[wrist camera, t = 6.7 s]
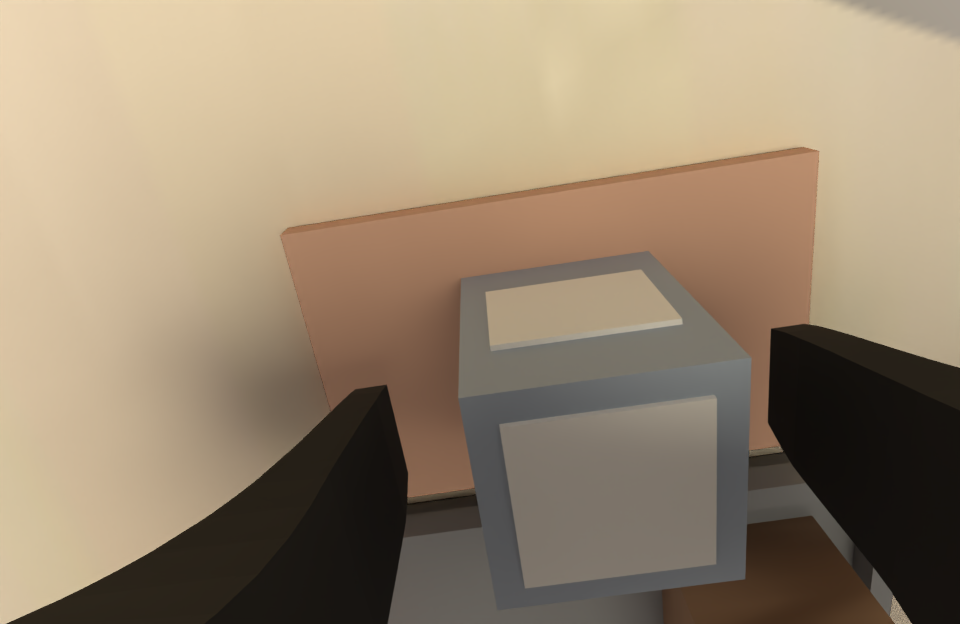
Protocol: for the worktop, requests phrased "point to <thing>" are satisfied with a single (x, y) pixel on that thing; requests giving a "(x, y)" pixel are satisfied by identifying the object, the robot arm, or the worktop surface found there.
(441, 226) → the rubber mat
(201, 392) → the worktop surface
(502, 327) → the labelled block
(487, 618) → the parts tray
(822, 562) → the walnut block
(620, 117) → the worktop surface
